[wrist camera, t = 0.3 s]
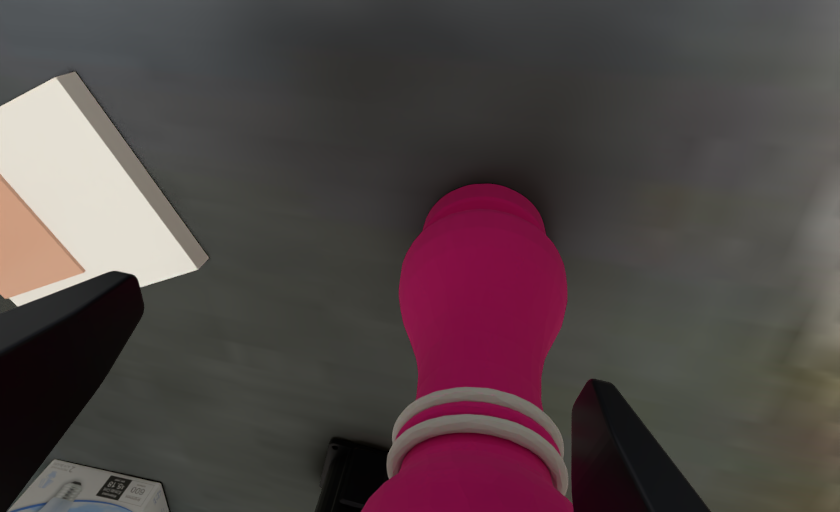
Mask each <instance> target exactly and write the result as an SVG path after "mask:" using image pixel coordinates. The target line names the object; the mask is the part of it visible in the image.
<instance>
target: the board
mask: <svg viewBox="0 0 840 512" xmlns="http://www.w3.org/2000/svg"><path fill="white" fill-rule="evenodd" d="M208 259H209V257H208V256H207V254H206V253H205V252H204V250H203V249H202V248H201V246H200V245H199V243H198V242H197V241H196V239H195V238H194V236H193V235H192V234H191V232H190V231H189V229H188V228H187V227H186V225H185V224H184V222H183V221H182V220H181V218H180V217H179V215H178V214H177V213H176V211H175V210H174V208H173V207H172V206H171V204H170V203H169V201H168V200H167V199H166V197H165V196H164V195H163V193H162V192H161V190H160V189H159V188H158V186H157V185H156V183H155V182H154V181H153V179H152V178H151V176H150V175H149V174H148V172H147V171H146V169H145V168H144V167H143V165H142V164H141V162H140V161H139V160H138V158H137V157H136V155H135V154H134V153H133V151H132V150H131V148H130V147H129V146H128V144H127V143H126V142H125V140H124V139H123V137H122V136H121V135H120V133H119V132H118V130H117V129H116V128H115V126H114V125H113V123H112V122H111V121H110V119H109V118H108V116H107V115H106V114H105V112H104V111H103V109H102V108H101V107H100V105H99V104H98V102H97V101H96V100H95V98H94V97H93V95H92V94H91V93H90V91H89V90H88V89H87V87H86V86H85V84H84V83H83V82H82V80H81V79H80V77H79V76H78V75H77V73H76V72H72V73H69V74H65V75H61V76H58V77H55V78H53V79H51V80H49V81H47V82H45V83H43V84H42V85H40V86H38V87H36V88H34V89H32V90H30V91H28V92H27V93H25V94H23V95H21V96H19V97H17V98H15V99H13V100H12V101H10V102H8V103H6V104H4V105H2V106H0V294H1V295H2V296H3V297H4V298H5V299H7V298H9V299H10V300H11V301H12V302H14V303H15V304H16V305H17V306H21V305H24V304H26V303H29V302H31V301H34V300H37V299H39V298H42V297H44V296H47V295H50V294H52V293H55V292H57V291H60V290H63V289H65V288H68V287H71V286H73V285H76V284H78V283H81V282H84V281H86V280H89V279H91V278H94V277H97V276H99V275H102V274H104V273H107V272H110V271H120V272H124V273H129V274H133V275H135V276H136V277H137V279H138V281H139V285H140V287H143V286H146V285H150V284H153V283H156V282H159V281H163V280H166V279H169V278H172V277H176V276H179V275H182V274H185V273H189V272H192V271H195V270H198V269H199V268H200V267H201V266H202V265H203V264H204V263H205V262H206V261H207V260H208Z"/></svg>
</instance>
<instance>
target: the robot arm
mask: <svg viewBox="0 0 840 512" xmlns="http://www.w3.org/2000/svg"><path fill="white" fill-rule="evenodd" d="M143 312H144V302H143V298H142V294H141V290H140V285H139V281H138V279H137V277H136V276H135V275H133V274H129V273H124V272H120V271H110V272H107V273H104V274H102V275H99V276H97V277H94V278H91V279H89V280H86V281H84V282H81V283H78V284H76V285H73V286H71V287H68V288H65V289H63V290H60V291H57V292H55V293H52V294H50V295H47V296H44V297H42V298H39V299H37V300H34V301H31V302H29V303H26V304H24V305H21V306H18V307H16V308H13V309H10V310H8V311H5V312H3V313H0V512H6V511H7V509H8V508H9V507H10V505H11V504H12V503H13V501H14V500H15V499H16V497H17V496H18V495H19V493H20V492H21V491H22V489H23V488H24V487H25V485H26V484H27V483H28V481H29V480H30V479H31V477H32V476H33V475H34V473H35V472H36V471H37V469H38V468H39V467H40V465H41V464H42V463H43V461H44V460H45V459H46V457H47V456H48V455H49V453H50V452H51V451H52V449H53V448H54V447H55V445H56V444H57V443H58V441H59V440H60V439H61V437H62V436H63V435H64V433H65V432H66V431H67V429H68V428H69V427H70V425H71V424H72V423H73V421H74V420H75V419H76V417H77V416H78V415H79V413H80V412H81V411H82V409H83V408H84V407H85V405H86V404H87V403H88V401H89V400H90V399H91V397H92V396H93V395H94V393H95V392H96V391H97V389H98V388H99V386H100V385H101V384H102V382H103V380H104V379H105V377H106V376H107V374H108V373H109V371H110V369H111V368H112V366H113V364H114V363H115V361H116V359H117V358H118V356H119V354H120V353H121V351H122V349H123V348H124V346H125V344H126V343H127V341H128V339H129V338H130V336H131V334H132V333H133V331H134V329H135V328H136V326H137V324H138V323H139V321H140V319H141V317H142V315H143ZM387 456H388V453H386V452H383V451H379V450H375V449H372V448H368V447H365V446H361V445H357V444H354V443H350V442H346V441H343V440H339V439H332V440H331V441H330V443H329V447H328V451H327V455H326V459H325V464H324V468H323V472H322V476H321V481H320V487H321V488H322V491H321V494H320V497H319V500H318V503H317V506H316V509H315V512H361V511H362V509H363V507H364V506H365V504H366V502H367V501H368V499H369V498H370V497H371V496H372V495H373V494H374V493H375V492H376V491H377V490H378V489H379V488H380V487H381V486H382V485H383V484H384V483H385V482H386V481H388V480H389V478H388V474H387V466H386V465H387ZM571 479H572V500H573V510H574V512H711V511H710V509H709V508H708V507H707V505H706V504H705V503H704V502H703V500H702V499H701V498H700V496H699V495H698V494H697V492H696V491H695V490H694V489H693V487H692V486H691V485H690V483H689V482H688V481H687V479H686V478H685V477H684V476H683V474H682V473H681V472H680V470H679V469H678V468H677V466H676V465H675V464H674V463H673V461H672V460H671V459H670V457H669V456H668V455H667V453H666V452H665V451H664V450H663V448H662V447H661V446H660V444H659V443H658V442H657V440H656V439H655V438H654V437H653V435H652V434H651V433H650V431H649V430H648V429H647V427H646V426H645V425H644V423H643V422H642V421H641V420H640V418H639V417H638V416H637V414H636V413H635V412H634V410H633V409H632V408H631V407H630V405H629V404H628V403H627V401H626V400H625V399H624V397H623V396H622V395H621V394H620V392H619V391H618V390H617V388H616V387H615V386H614V385H613V384H612V383H610V382H606V381H602V380H597V379H590V380H589V381H588V382H587V383H586V384H585V386H584V388H583V389H582V391H581V393H580V395H579V396H578V398H577V400H576V401H575V403H574V405H573V409H572V468H571Z"/></svg>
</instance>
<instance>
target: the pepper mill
mask: <svg viewBox="0 0 840 512" xmlns="http://www.w3.org/2000/svg"><path fill="white" fill-rule="evenodd" d="M399 302H400V308H401V314H402V319H403V324H404V326H405V329H406V332H407V334H408V337H409V340H410V342H411V345H412V348H413V351H414V354H415V357H416V360H417V366H418V386H417V396H416V400H415V401H414V402H413V403H411V404H410V405H408V406H407V408H406V409H405V410H404V411H403V412H402V413H401V414H400V416H399V417H398V419H397V421H396V423H395V425H394V428H393V433H392V442H393V445H392V447H391V449H390V450H389V453H388V456H387V465H386V466H387V474H388V478H389V480H388V481H386V482H385V483H384V484H383V485H382V486H381V487H380V488H379V489H378V490H377V491H376V492H375V493H374V494H373V495H372V496H371V497H370V498H369V499H368V501H367V502H366V504H365V506H364V507H363V509H362V511H361V512H574V510H573V504H572V503H571V502H570V501H569V500H568V499H567V498H566V497H565V494H566V491H567V488H568V472H567V468H566V466H565V463H564V461H563V456H564V444H563V440H562V436H561V434H560V432H559V430H558V428H557V426H556V425H555V424H554V422H553V421H552V420H551V418H550V417H549V416H548V415H546V414H545V413H544V412H543V408H542V403H541V375H542V370H543V365H544V360H545V358H546V356H547V353H548V351H549V350H550V348H551V346H552V344H553V342H554V340H555V338H556V336H557V334H558V332H559V330H560V328H561V326H562V322H563V318H564V314H565V310H566V305H567V281H566V273H565V268H564V264H563V261H562V259H561V256H560V254H559V252H558V250H557V249H556V247H555V245H554V243H553V242H552V241H551V240H550V239H549V238H548V237H547V236H546V232H545V227H544V223H543V220H542V218H541V216H540V213H539V212H538V210H537V209H536V208H535V206H534V205H533V204H532V203H531V202H530V201H529V200H528V199H527V198H526V197H524V196H523V195H521V194H520V193H518V192H516V191H514V190H512V189H509V188H507V187H504V186H501V185H496V184H472V185H467V186H463V187H461V188H458V189H456V190H454V191H451V192H450V193H448V194H446V195H445V196H444V197H442V198H441V199H440V200H439V201H438V202H437V203H436V204H435V205H434V206H433V207H432V209H431V210H430V212H429V214H428V215H427V218H426V220H425V223H424V227H423V231H422V232H421V233H420V235H419V236H418V237H417V238H416V239H415V240H414V242H413V243H412V245H411V247H410V248H409V250H408V252H407V253H406V256H405V258H404V261H403V264H402V270H401V277H400V284H399Z"/></svg>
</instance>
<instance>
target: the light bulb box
mask: <svg viewBox="0 0 840 512" xmlns="http://www.w3.org/2000/svg"><path fill="white" fill-rule="evenodd" d="M8 512H169V509H168V506H167V502H166V499H165V495H164V492H163V488H162V484H161V483H158V482H154V481H149V480H145V479H140V478H136V477H131V476H127V475H122V474H118V473H114V472H109V471H105V470H101V469H96V468H92V467H87V466H83V465H78V464H74V463H70V462H66V461H61V460H57V459H54V460H53V461H52V462H51V463H50V464H49V465H48V467H47V468H46V469H45V470H44V471H43V472H42V473H41V474H40V475H39V477H38V478H37V479H36V480H35V481H34V482H33V483H32V484H31V486H30V487H29V488H28V489H27V490H26V491H25V492H24V493H23V495H22V496H21V497H20V498H19V499H18V500H17V501H16V502H15V504H14V505H13V506H12V507H11V508H10V509H9V510H8Z"/></svg>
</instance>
